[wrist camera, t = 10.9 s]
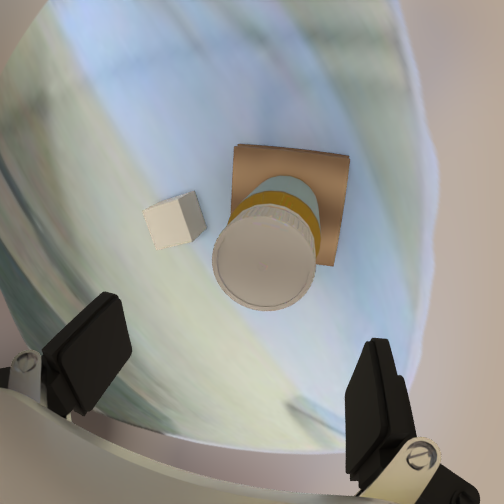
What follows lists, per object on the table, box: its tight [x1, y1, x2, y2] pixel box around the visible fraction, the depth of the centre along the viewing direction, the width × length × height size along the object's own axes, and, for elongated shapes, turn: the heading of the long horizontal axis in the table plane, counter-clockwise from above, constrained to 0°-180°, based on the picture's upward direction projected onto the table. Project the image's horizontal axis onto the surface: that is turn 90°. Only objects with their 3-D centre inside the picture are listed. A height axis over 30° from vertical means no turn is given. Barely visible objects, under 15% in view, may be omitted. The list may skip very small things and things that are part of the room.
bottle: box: [212, 175, 321, 311], centre depth 24 cm, size 7×7×15 cm
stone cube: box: [142, 191, 207, 250], centre depth 34 cm, size 5×5×5 cm
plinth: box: [231, 144, 350, 266], centre depth 32 cm, size 12×12×3 cm
